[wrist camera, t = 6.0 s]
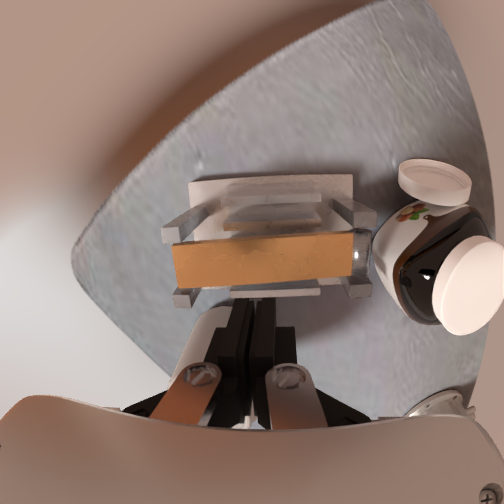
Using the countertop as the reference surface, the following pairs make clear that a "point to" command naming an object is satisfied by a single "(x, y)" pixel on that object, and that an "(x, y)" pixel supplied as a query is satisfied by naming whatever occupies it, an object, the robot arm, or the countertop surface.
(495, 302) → the spread jar
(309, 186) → the gray slatted rack
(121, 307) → the countertop surface
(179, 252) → the orange brown bar
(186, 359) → the can
